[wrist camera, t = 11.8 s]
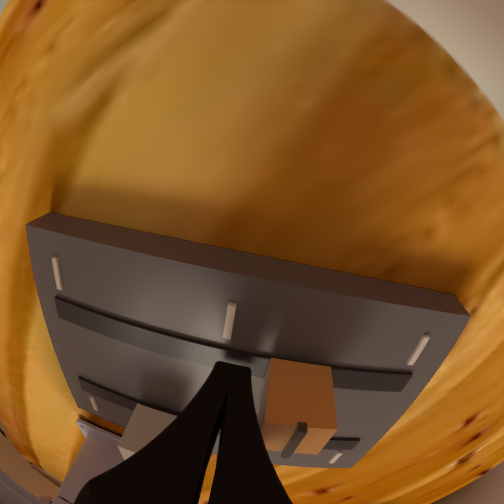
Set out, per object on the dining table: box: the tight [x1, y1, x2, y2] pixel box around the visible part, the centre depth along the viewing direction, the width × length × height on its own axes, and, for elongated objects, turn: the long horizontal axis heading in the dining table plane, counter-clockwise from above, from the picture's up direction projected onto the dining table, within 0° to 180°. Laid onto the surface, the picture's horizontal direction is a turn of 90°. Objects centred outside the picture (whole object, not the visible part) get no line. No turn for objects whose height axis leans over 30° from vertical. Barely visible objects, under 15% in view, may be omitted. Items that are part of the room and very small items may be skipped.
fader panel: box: [26, 212, 471, 468], centre depth 13 cm, size 14×20×2 cm
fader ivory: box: [118, 404, 177, 460], centre depth 12 cm, size 2×2×3 cm
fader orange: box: [257, 358, 338, 459], centre depth 9 cm, size 2×2×3 cm
